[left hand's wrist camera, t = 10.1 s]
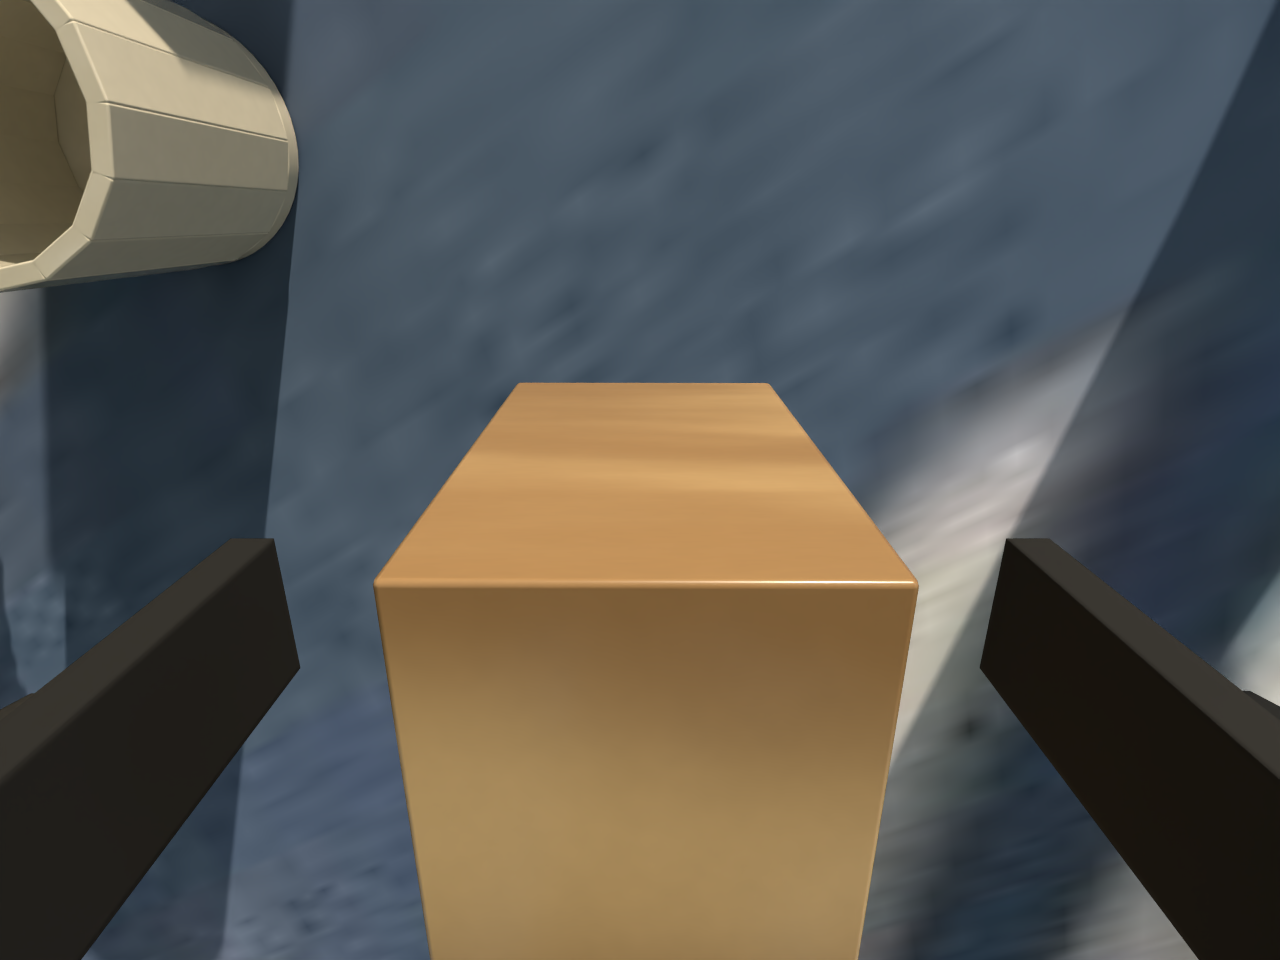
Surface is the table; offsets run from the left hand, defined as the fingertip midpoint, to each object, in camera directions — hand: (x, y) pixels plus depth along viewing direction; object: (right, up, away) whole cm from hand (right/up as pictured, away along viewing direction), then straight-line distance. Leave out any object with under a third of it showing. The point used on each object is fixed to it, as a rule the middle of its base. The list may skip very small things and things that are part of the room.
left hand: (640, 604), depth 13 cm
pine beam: (0, -7, +5) cm, 9 cm away
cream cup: (-15, +14, +11) cm, 23 cm away
